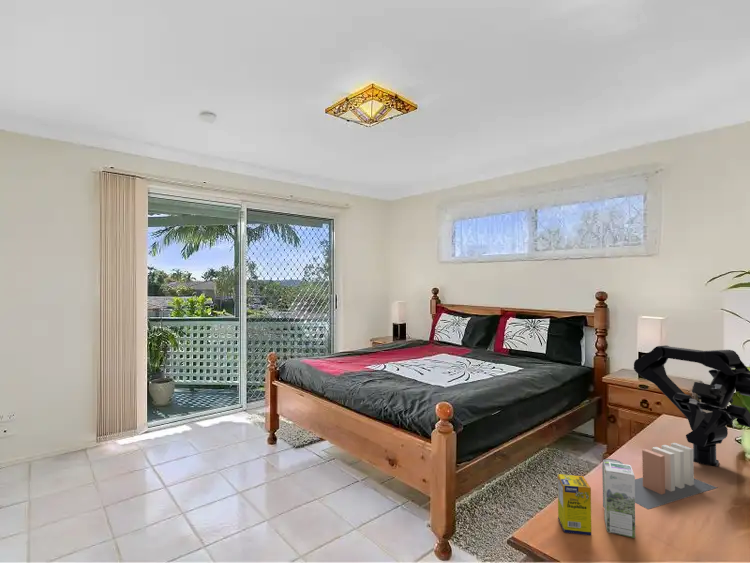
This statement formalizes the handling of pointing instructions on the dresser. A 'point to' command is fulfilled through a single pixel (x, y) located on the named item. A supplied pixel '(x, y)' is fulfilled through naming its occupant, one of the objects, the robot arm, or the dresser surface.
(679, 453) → the domino
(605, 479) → the syrup box
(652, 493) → the domino mat
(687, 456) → the domino
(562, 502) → the supplement box
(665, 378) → the robot arm
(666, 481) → the domino
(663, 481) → the end domino
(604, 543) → the dresser surface
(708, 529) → the dresser surface
